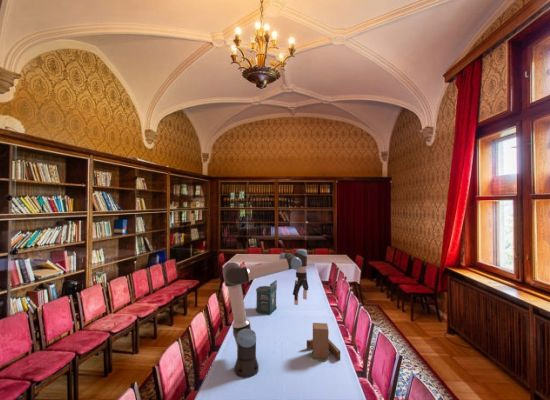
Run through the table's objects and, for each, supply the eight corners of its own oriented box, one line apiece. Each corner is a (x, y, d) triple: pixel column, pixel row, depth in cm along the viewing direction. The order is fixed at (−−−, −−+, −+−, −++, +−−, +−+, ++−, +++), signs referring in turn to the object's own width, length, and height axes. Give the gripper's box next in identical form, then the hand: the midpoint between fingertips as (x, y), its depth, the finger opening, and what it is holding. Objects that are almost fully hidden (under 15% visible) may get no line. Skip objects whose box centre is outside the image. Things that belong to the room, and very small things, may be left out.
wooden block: (312, 350, 209) (312, 322, 209) (326, 351, 209) (327, 323, 208) (313, 358, 200) (313, 328, 199) (328, 359, 199) (328, 329, 198)
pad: (324, 362, 196) (324, 361, 196) (307, 357, 202) (307, 356, 202) (330, 353, 207) (330, 353, 207) (314, 349, 212) (314, 348, 212)
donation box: (270, 315, 273) (270, 284, 272) (254, 312, 279) (254, 282, 278) (276, 308, 288) (276, 279, 287) (261, 306, 294) (261, 278, 293)
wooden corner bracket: (318, 363, 194) (318, 354, 194) (306, 348, 213) (306, 340, 213) (340, 360, 199) (340, 351, 198) (327, 345, 218) (327, 337, 218)
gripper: (298, 276, 197) (297, 308, 197) (313, 268, 219) (312, 297, 219) (288, 274, 201) (287, 306, 201) (304, 267, 222) (303, 296, 223)
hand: (300, 301), depth 210 cm, fingers open, 13 cm apart
